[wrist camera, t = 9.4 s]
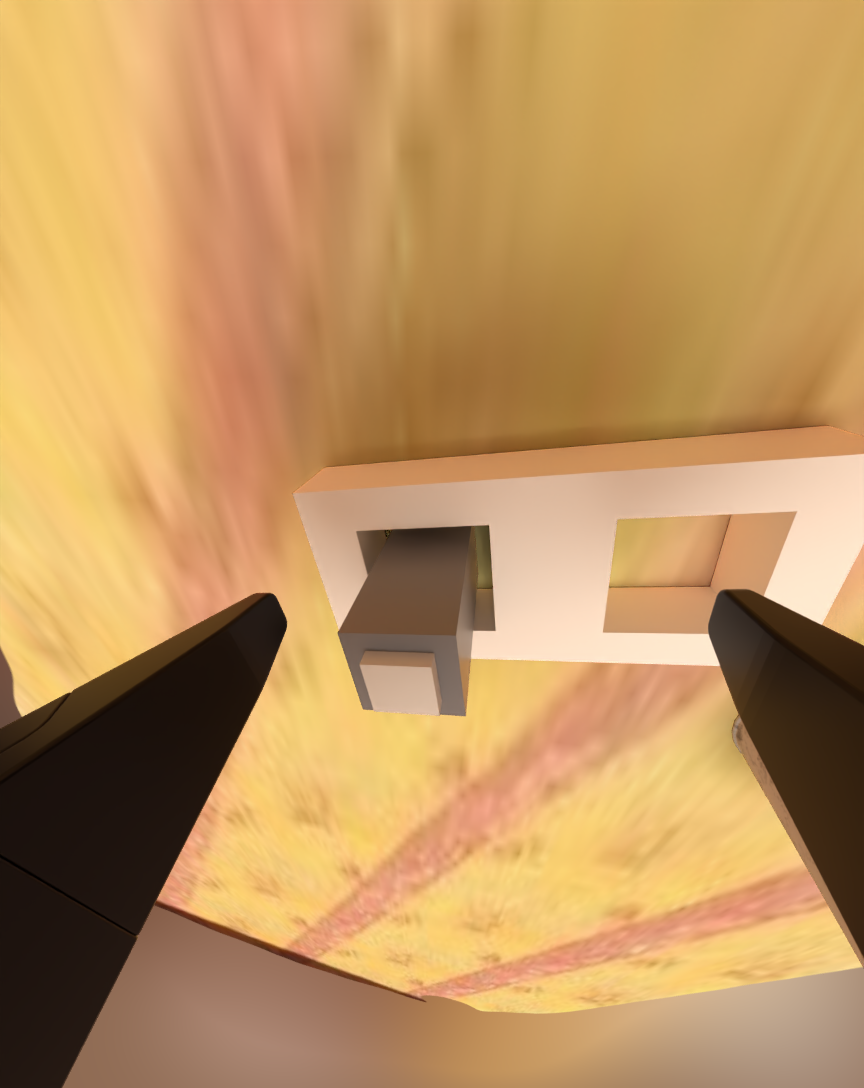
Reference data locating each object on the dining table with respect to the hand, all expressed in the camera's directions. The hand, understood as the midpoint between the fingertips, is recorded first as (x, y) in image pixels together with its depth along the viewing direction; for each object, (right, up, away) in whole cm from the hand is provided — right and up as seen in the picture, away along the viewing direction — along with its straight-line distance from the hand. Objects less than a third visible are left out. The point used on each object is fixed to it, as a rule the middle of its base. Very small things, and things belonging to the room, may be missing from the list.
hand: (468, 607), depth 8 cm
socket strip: (+5, +1, +12) cm, 13 cm away
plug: (0, +1, +13) cm, 13 cm away
